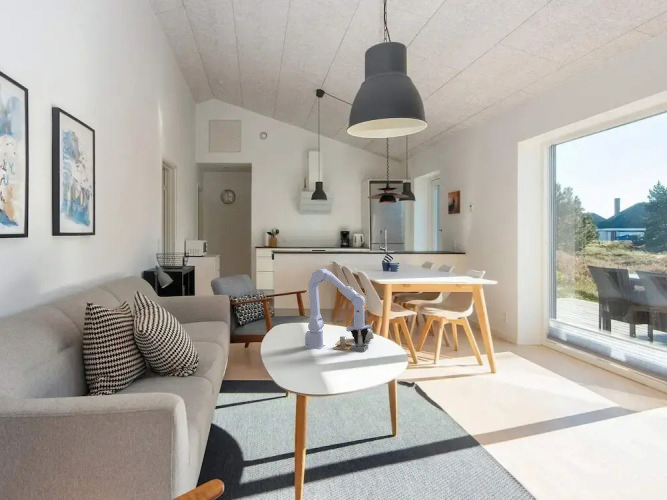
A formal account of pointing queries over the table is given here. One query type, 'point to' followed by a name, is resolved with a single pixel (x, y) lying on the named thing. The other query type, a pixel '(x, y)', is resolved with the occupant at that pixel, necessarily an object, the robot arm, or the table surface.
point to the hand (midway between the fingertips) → (359, 343)
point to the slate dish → (359, 348)
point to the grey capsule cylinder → (342, 341)
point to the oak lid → (346, 342)
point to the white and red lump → (368, 336)
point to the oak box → (347, 348)
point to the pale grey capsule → (360, 341)
